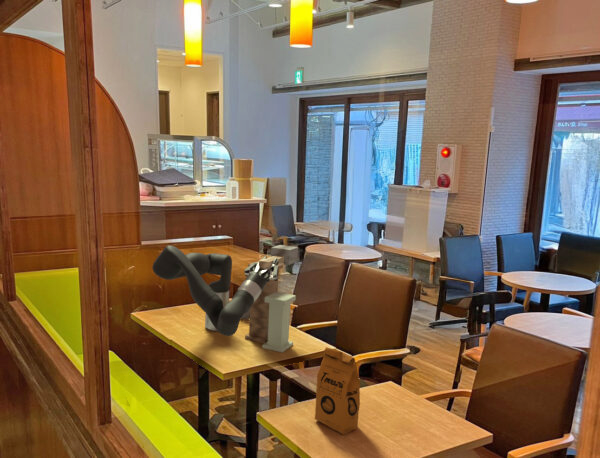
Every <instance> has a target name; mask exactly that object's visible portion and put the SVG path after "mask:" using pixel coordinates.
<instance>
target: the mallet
mask: <svg viewBox="0 0 600 458" xmlns="http://www.w3.org/2000/svg"><path fill="white" fill-rule="evenodd" d="M270 251H271V252H270V256H269V257H267V258H266V259H263V260H261V259H260V260H258V261H259V266H260V268H261V269H265V268H266V267H269V266H270V265H271V264H272V262H273V261H274V259H275V258H278V262H279V264H278V265H277V266H281V265H283V266H284V265H286V266H290V265H292V264H295V263H297V262H298V253H299V247H298V246H293V245H291V246H290V245H284V244H279V245H276V246H275V245H274V246H271V247H270Z"/></svg>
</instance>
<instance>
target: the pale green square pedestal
mask: <svg viewBox="0 0 600 458" xmlns="http://www.w3.org/2000/svg"><path fill="white" fill-rule="evenodd" d="M296 300H297V295H296V294H295V295H294V294H290V293H285V292H275V293H273V294H271V295H269V296H266V297H265V302H266V303H270V305H269V325H268V342H266V343H262V349H265V350H270V351H275V352H279V353H284V352H285V351H286V350H288V349H290V347H292V346H293V345H294V341H290V340H289V337H290V323H291V322H290V320H291V306H292V305H291V304H292V303H293V302H296Z"/></svg>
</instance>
